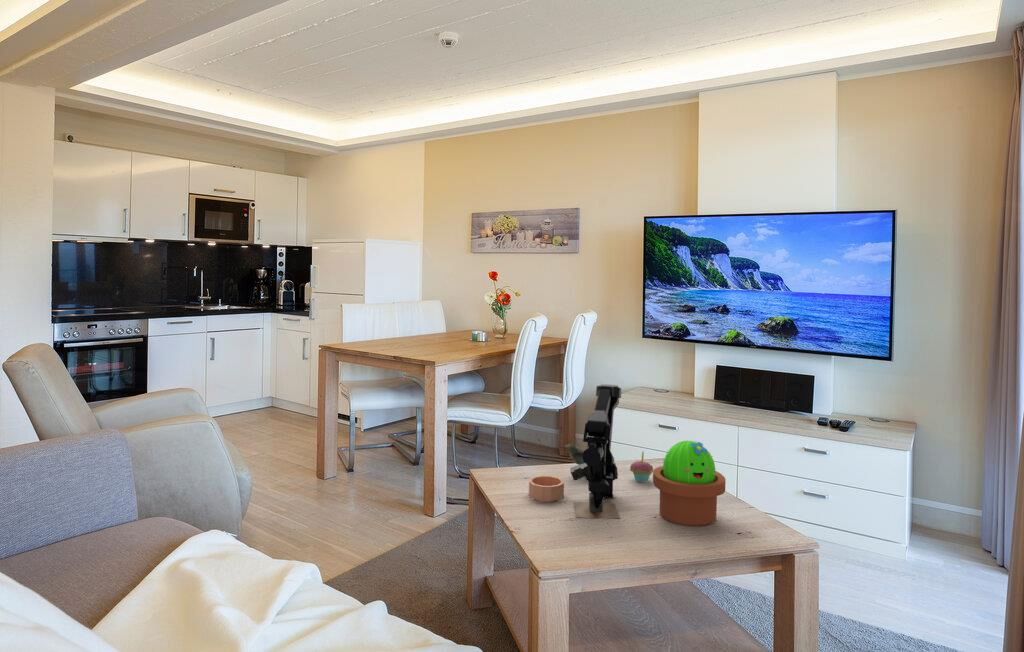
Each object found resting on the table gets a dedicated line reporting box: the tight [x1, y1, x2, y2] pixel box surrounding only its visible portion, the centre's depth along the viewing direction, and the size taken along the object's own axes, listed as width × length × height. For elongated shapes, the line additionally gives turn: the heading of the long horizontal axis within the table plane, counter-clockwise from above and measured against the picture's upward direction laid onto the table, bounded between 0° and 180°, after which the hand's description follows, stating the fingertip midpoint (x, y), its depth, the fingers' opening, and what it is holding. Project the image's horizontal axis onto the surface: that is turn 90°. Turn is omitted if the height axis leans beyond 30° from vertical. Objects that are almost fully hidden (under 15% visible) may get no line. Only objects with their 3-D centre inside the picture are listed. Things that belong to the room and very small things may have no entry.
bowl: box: [528, 475, 565, 502], centre depth 218 cm, size 12×12×5 cm
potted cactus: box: [652, 440, 727, 527], centre depth 200 cm, size 22×22×25 cm
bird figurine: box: [560, 443, 585, 465], centre depth 241 cm, size 13×10×20 cm
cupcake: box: [629, 451, 654, 483], centre depth 235 cm, size 9×8×12 cm
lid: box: [572, 492, 621, 520], centre depth 205 cm, size 14×14×6 cm
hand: (595, 504), depth 205 cm, fingers open, 7 cm apart
